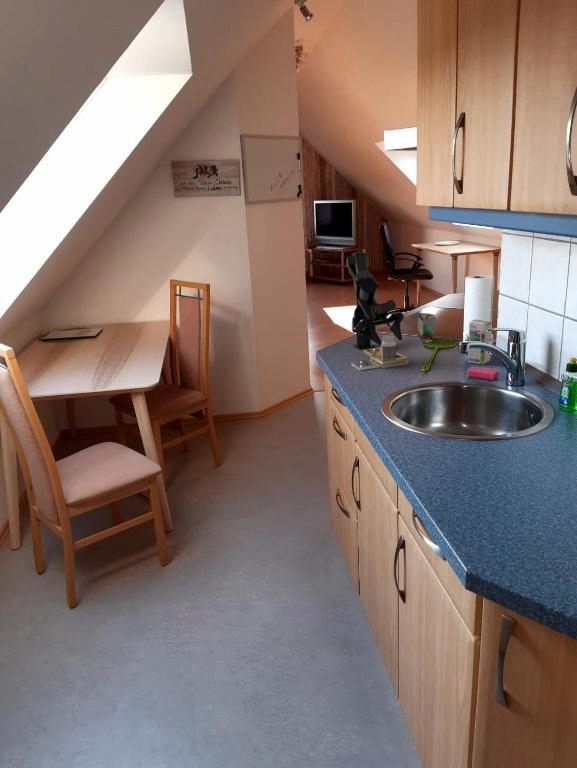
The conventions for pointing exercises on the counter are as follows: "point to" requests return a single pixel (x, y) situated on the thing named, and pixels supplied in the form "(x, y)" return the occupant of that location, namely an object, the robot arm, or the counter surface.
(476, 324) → the syrup box
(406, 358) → the beige flat piece
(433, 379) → the counter surface
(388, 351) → the pill bottle
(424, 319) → the food container
